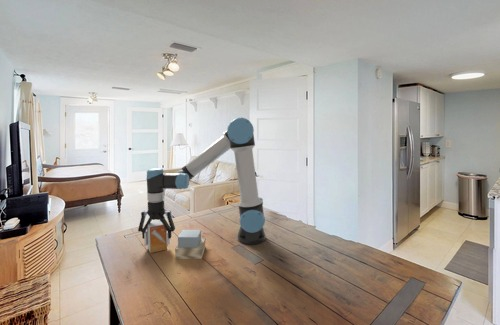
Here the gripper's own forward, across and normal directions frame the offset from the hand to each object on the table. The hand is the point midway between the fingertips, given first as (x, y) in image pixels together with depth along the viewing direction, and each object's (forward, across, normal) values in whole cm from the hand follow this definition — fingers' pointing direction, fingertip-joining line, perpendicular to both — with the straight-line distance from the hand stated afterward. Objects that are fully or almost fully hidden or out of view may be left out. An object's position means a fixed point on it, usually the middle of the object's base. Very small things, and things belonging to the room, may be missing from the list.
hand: (157, 244), depth 126 cm
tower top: (-2, -17, +4) cm, 18 cm away
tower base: (+3, -17, +4) cm, 18 cm away
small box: (+2, 0, 0) cm, 2 cm away
